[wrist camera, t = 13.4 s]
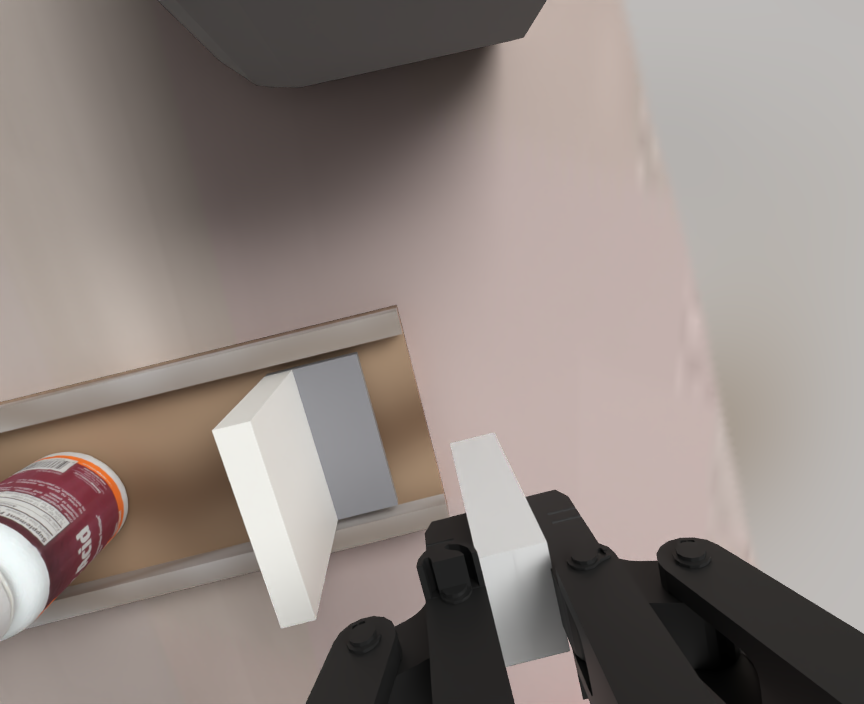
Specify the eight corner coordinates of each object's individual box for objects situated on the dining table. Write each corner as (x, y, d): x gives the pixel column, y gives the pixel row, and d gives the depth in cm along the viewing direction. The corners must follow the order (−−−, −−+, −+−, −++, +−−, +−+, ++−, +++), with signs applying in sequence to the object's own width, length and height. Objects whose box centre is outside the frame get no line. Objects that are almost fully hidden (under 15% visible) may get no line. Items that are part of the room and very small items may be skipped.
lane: (-191, 449, 24) (-426, 533, 17) (396, 304, 24) (395, 331, 17) (-92, 635, 26) (-266, 776, 19) (446, 502, 26) (463, 594, 20)
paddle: (267, 373, 23) (212, 430, 16) (357, 351, 23) (339, 399, 16) (313, 520, 25) (280, 628, 18) (398, 499, 25) (397, 599, 18)
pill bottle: (102, 563, 25) (-44, 723, 17) (3, 514, 24) (-201, 656, 16) (151, 482, 24) (24, 607, 16) (50, 429, 23) (-136, 532, 15)
